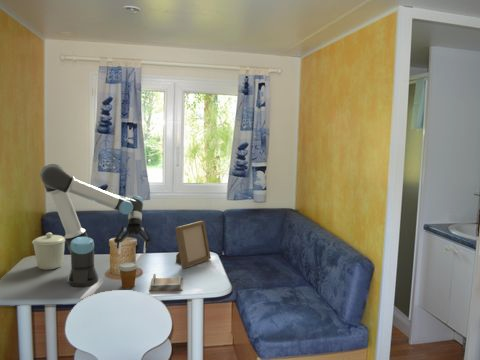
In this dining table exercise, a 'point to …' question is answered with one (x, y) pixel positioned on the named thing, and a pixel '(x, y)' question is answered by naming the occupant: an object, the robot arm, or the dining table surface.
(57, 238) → the canister
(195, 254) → the photo frame
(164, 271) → the dining table surface
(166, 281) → the rail cradle
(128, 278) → the disposable coffee cup
